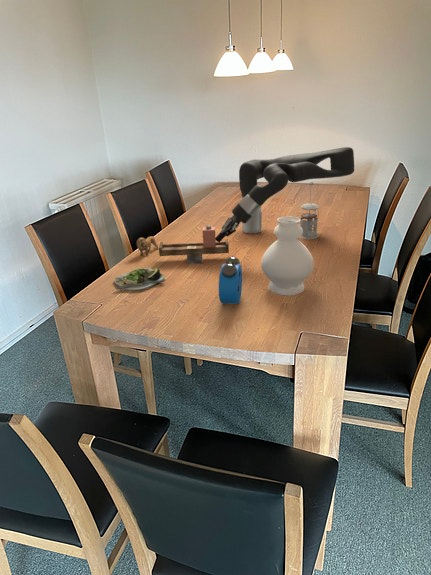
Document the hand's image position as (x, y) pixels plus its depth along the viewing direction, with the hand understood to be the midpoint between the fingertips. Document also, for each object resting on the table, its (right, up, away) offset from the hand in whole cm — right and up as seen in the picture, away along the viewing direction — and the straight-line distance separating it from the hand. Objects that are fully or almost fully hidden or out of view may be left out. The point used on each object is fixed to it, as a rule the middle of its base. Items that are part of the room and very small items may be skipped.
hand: (217, 240), depth 176 cm
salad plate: (-29, -17, -11) cm, 35 cm away
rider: (-3, -3, +2) cm, 5 cm away
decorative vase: (+25, -19, -21) cm, 38 cm away
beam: (-9, -8, +5) cm, 13 cm away
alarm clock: (+5, -24, -29) cm, 38 cm away
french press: (+43, +5, +28) cm, 52 cm away
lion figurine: (-30, -4, +14) cm, 33 cm away
